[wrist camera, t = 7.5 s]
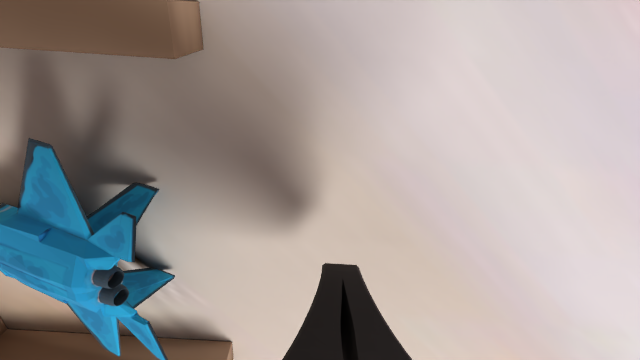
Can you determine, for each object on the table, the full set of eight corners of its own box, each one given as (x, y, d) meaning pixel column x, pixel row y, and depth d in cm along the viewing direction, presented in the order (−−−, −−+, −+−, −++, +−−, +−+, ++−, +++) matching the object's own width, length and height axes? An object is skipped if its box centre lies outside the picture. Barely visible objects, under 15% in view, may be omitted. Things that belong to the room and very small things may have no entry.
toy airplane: (124, 88, 13) (37, 120, 9) (266, 260, 16) (246, 333, 13) (-49, 212, 16) (-168, 274, 12) (103, 334, 19) (49, 411, 16)
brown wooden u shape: (233, 358, 20) (221, 402, 18) (-9, 344, 20) (-51, 386, 18) (198, 1, 11) (167, 0, 9) (-239, -29, 11) (-383, -38, 9)
